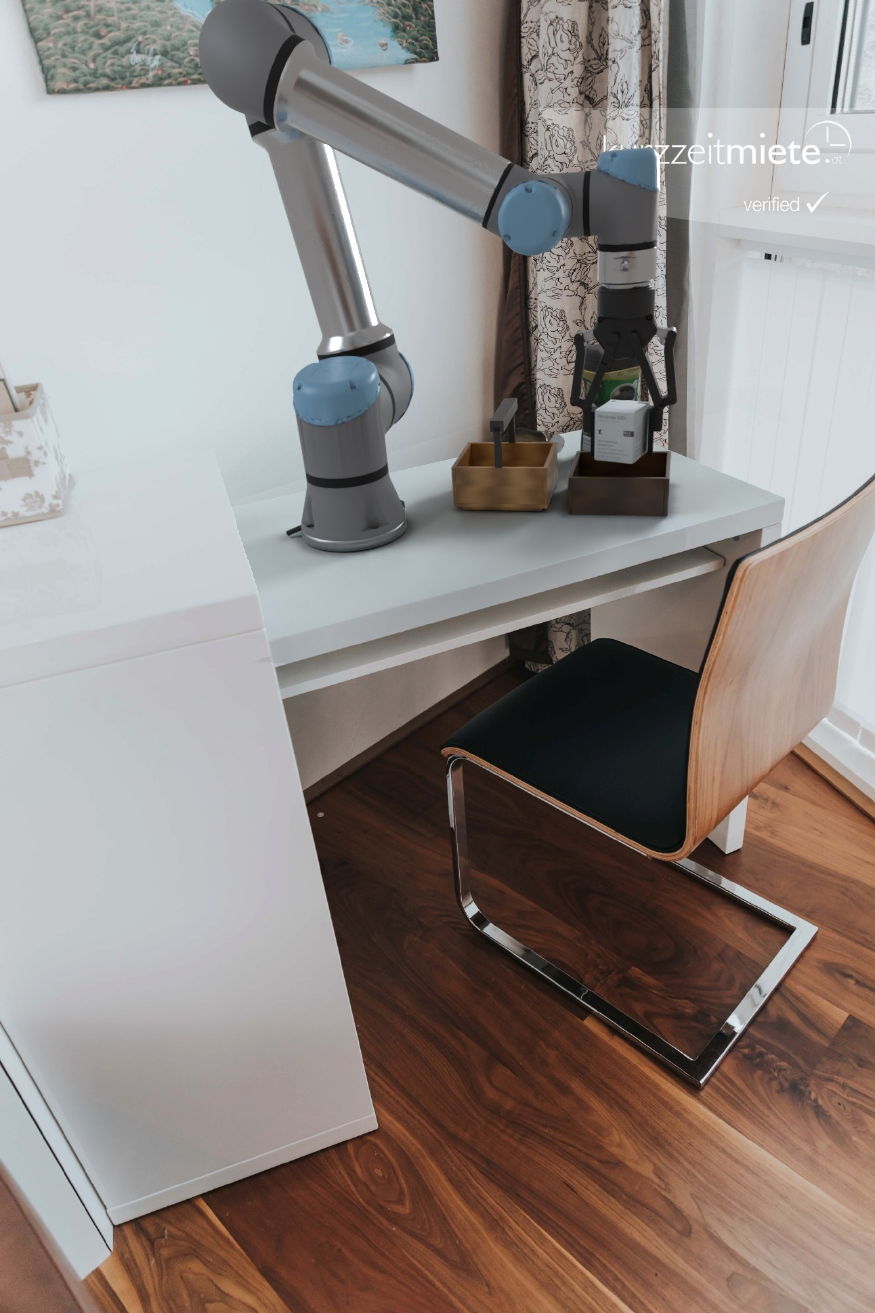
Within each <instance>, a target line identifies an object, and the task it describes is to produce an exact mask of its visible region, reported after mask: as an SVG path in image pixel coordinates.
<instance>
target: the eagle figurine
mask: <svg viewBox="0 0 875 1313" xmlns="http://www.w3.org/2000/svg"><path fill="white" fill-rule="evenodd" d="M501 440H502V442H508V431H507V432H505V434H504V435H503V436H502V438H501ZM565 441H566V440H565V438H564V437H563V436H562V435H561V434H557V433H555V434H553V433H551V432H548V429H545V430H544V433H543V432H542V431H541V430H533V429H528V428H525V427H524V426H523V427H522V426H521V427H520V426H519V427H515V442H553V443H554V442H557V454H560V453H561V451H562V450H563V449H564V447H565Z"/></svg>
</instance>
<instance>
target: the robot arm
mask: <svg viewBox="0 0 875 1313" xmlns="http://www.w3.org/2000/svg"><path fill="white" fill-rule="evenodd" d="M197 49H198V50H197V52H198V59H199V65H200V69H201V72H202V75H203V77H204V79H205V82H206V84H207V85H208V87H209V89H210V90H211V91H212V93H213V94H214V95H215V97H216V98H218V100H219V101H220V102H222V103H223V104H224V105H225V106H227V107H228V108H230V109H232V110H234V111H235V112H238V113H241V114H242V115H244V117H245V121H246V124H247V127H248V131H249V133H250V138H251V141H252V142H253V143H255V144H256V145H258V146H259V147H261V148H262V149H263V150H265V151H266V153H267V154H268V157H269V161H270V164H271V167H272V171H273V174H274V177H275V181H276V184H277V188H278V191H279V194H280V198H281V201H282V205H283V208H284V211H285V214H286V219H287V222H288V225H289V228H290V232H291V235H292V238H293V241H294V246H295V249H296V251H297V252H296V253H297V255H298V258H299V261H300V265H301V268H302V272H303V275H304V278H305V279H304V280H305V282H306V286H307V290H308V292H309V295H310V299H311V302H312V306H313V309H314V312H315V316H316V320H317V323H318V326H319V330H320V332H321V340H320V342H319V343H318V344H319V345H318V347H317V349H316V350H315V353H316V356H317V359H318V362H312V363H309V364H308V365H306V366H304V367H302V368H301V369H300V370H299V371H298V372H297V373H296V374H295V376H294V378H293V380H292V395H293V396H292V406H293V410H294V412H295V419H296V425H297V431H298V437H299V442H300V449H301V454H302V461H303V467H304V472H305V479H306V490H305V497H304V503H303V509H302V515H301V521H300V523H301V524H300V525H298V526H295V527H293V528H290V529H288V530H286V531H285V533H286V536H287V537H289V536H291V535H295V534H296V533H299V532H301V535H302V540H303V541H304V543H306V544H307V545H308V546H310V547H311V548H315V549H318V550H322V551H329V552H355V551H363V550H368V549H369V550H370V549H373V548H377V547H380V546H383V545H386V544H389V543H391V542H392V541H395V540H396V539H398V538H400V537H401V536H402V535H403V534H404V533H405V532H406V530H407V529H408V521H407V513H406V511H405V510H406V509H405V508H406V505H405V501H404V500H402V499H401V498H400V496H399V494H398V492H397V489H396V488H395V486H394V483H393V481H392V479H391V476H390V471H389V463H388V462H389V461H388V453H387V444H386V443H387V442H386V434H387V433H388V431H390V429H391V428H392V427H393V426H395V425H396V424H397V423H398V422H399V421H401V420H402V418H403V417H404V416H405V414H406V412H407V411H408V409H409V407H410V404H411V402H412V400H413V396H414V392H415V376H414V373H413V369H412V366H411V364H410V362H409V361H408V359H407V357H406V356H405V355H404V354H403V353H402V352H400V350H399V349H398V344H397V342H396V341H397V340H396V338H395V333H394V331H393V329H392V328H391V327H389V326H388V325H386V324H384V323H383V322H382V321H381V320H380V318H379V314H378V310H377V307H376V303H375V299H374V294H373V291H372V288H371V284H370V280H369V277H368V276H369V275H368V272H367V268H366V265H365V261H364V257H363V252H362V249H361V246H360V241H359V237H358V235H357V231H356V226H355V223H354V219H353V216H352V212H351V207H350V203H349V200H348V196H347V193H346V188H345V185H344V181H343V177H342V173H341V170H340V167H339V166H340V165H339V162H338V159H337V155H336V152H339V153H341V154H343V155H345V156H347V157H348V158H350V159H352V160H354V161H356V162H358V163H360V164H362V165H363V166H366V167H367V168H370V169H371V170H374V171H375V172H376V173H379V174H381V175H383V176H385V177H387V178H389V179H390V180H392V181H394V182H396V183H398V184H400V185H402V186H404V187H406V188H407V189H410V190H411V191H413V192H415V193H417V194H418V195H421V196H423V197H425V198H427V199H428V200H430V201H432V202H434V203H436V204H438V205H439V206H442V207H444V208H446V209H447V210H449V211H451V212H453V213H455V214H457V215H459V216H461V217H463V218H464V219H466V220H468V221H470V222H472V223H474V224H476V225H478V226H480V227H481V228H483V229H485V230H487V231H488V232H489V233H491V234H493V235H495V236H496V237H498V238H501V239H502V240H503V242H504V243H505V244H506V245H507V246H508V248H509V249H510V250H512V251H514V252H515V253H517V254H520V255H522V256H531V257H532V256H540V255H541V254H545V253H547V252H550V251H551V250H553V249H554V248H555V247H557V246H558V245H559V243H560V242H561V241H562V240H564V239H571V238H573V239H574V238H584V237H585V238H588V237H589V238H590V237H597V268H596V269H597V270H596V271H597V272H596V273H597V276H596V279H597V280H596V281H597V282H598V283H599V284H601V285H600V286H599V287H598V289H597V290H596V322H595V324H594V326H593V328H591V329H587V330H580V329H579V330H577V331H576V332H575V333H574V336H573V343H574V347H575V360H574V366H573V375H572V383H571V389H570V390H571V391H570V398H569V404H570V406H571V407H577V408H579V409H580V410H581V411H582V423H583V430H584V432H591V451H590V457H594V450H595V410H596V409H597V408H598V406H592V404H593V402H594V399H595V397H596V394H597V392H598V389H599V387H600V384H601V382H602V379H603V377H604V374H605V372H606V369H607V367H608V365H609V362H610V360H611V357H612V358H621V357H628V358H637V361H638V364H639V365H640V368H641V373H642V375H643V379H644V381H645V385H646V387H647V390H648V393H649V396H650V398H651V402H652V404H650V406H649V421H648V446H647V456H653V451H654V442H655V440H654V439H655V432H657V433H658V432H659V433H660V432H662V429H663V426H664V425H663V424H664V422H663V421H664V411H665V408H666V407H668V406H674V405H675V404H677V402H678V388H677V386H678V385H677V375H676V374H677V373H676V364H675V363H676V362H675V352H674V351H675V348H674V346H675V343H676V339H677V332H678V330H677V328H676V327H675V326H670V327H664V326H659V325H658V323H657V321H656V318H655V306H656V305H655V304H656V286H655V284H654V283H653V282H652V281H654V280H655V279H656V277H657V260H658V258H657V257H658V233H659V232H658V231H659V214H660V213H659V212H660V195H661V194H660V193H661V183H660V182H661V181H660V180H661V174H660V173H661V170H660V169H661V168H660V166H661V164H660V163H661V161H660V158H661V157H660V154H659V153H658V152H657V151H656V149H654V148H652V147H636V148H624V149H614V150H613V149H612V150H606V151H603V152H601V153H600V154H599V156H598V163H597V165H596V168H594V169H591V170H585V171H574V172H556V173H539V174H535V173H534V172H531V171H530V170H529V169H526V168H524V167H522V166H520V165H519V164H515V163H514V162H512V161H510V160H509V159H507V158H506V157H503V156H501V155H500V154H498V153H495V152H494V151H492V150H490V149H488V148H486V147H485V146H482V145H481V144H479V143H477V142H476V141H473V140H471V139H470V138H468V137H466V136H464V135H463V134H460V133H459V132H457V131H455V130H454V129H453V130H452V129H451V128H449V127H448V126H445V125H443V124H442V123H440V122H438V121H437V120H434V119H432V118H430V117H429V116H427V115H425V114H423V113H421V112H420V111H417V110H416V109H413V108H412V107H410V106H408V105H406V104H405V103H403V102H401V101H399V100H397V99H395V98H393V97H391V96H390V95H388V94H386V93H384V92H383V91H380V90H379V89H377V88H374V87H373V86H371V85H369V84H367V83H365V82H363V81H362V80H360V79H358V78H356V77H354V76H352V75H350V74H348V73H347V72H346V71H343V70H342V69H339V68H337V67H335V65H334V64H335V63H334V58H333V53H332V49H331V46H330V44H329V42H328V40H327V37H326V36H325V34H324V32H323V31H322V29H321V28H320V27H319V25H317V23H316V22H314V21H313V20H312V19H311V18H310V17H308V16H307V15H306V14H305V13H304V12H302V11H300V10H299V9H297V8H295V7H293V6H290V5H287V4H282V3H277V2H276V3H275V2H274V3H273V2H270V1H269V2H268V1H266V0H222V1H221V2H219V3H217V5H215V6H214V7H213V8H212V9H211V10H210V12H209V13H208V14H207V16H206V18H205V20H204V21H203V23H202V26H201V29H200V32H199V36H198V46H197ZM656 336H657V338H658V340H659V341H658V342H659V344H660V345H662V346H663V357H664V358H663V359H664V369H665V382H666V394H664V395H663V394H662V391H661V388H660V385H659V383H658V379H657V377H656V374H655V372H654V368H653V366H652V362H651V359H650V357H649V353H648V351H647V347H648V346H649V344H650V343H651V341H652V340H653V339H654V337H656ZM592 339H595V340H596V341H597V344H600V345H601V347H602V348H603V350H604V353H603V355H602V358H601V360H600V363H599V365H598V368H597V370H596V373H595V376H594V378H593V381H592V383H591V386H590V388H589V391H588V393H587V396H586V398H585V397H584V395H583V396H582V394H581V393H582V388H583V382H584V381H583V373H584V366H585V359H586V350H587V347H589V346H591V344H592Z"/></svg>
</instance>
